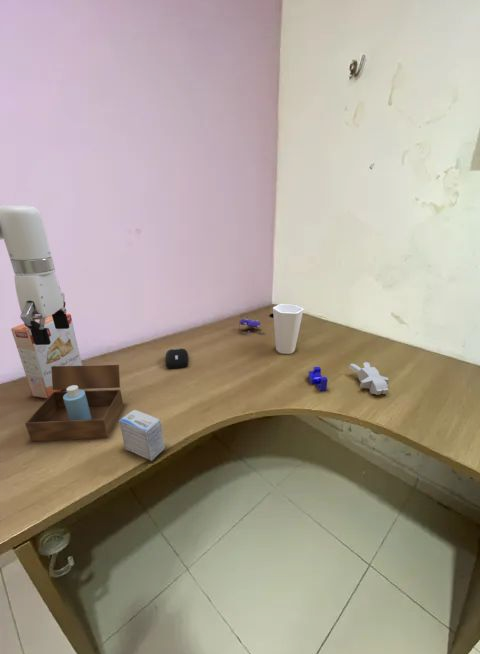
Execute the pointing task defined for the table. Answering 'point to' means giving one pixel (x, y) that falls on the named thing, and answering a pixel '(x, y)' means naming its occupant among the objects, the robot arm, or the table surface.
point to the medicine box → (142, 434)
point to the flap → (85, 376)
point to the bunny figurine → (371, 379)
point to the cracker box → (46, 354)
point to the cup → (286, 326)
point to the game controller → (249, 323)
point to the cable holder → (317, 378)
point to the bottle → (76, 404)
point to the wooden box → (57, 426)
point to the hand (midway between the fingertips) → (53, 335)
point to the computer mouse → (176, 358)
